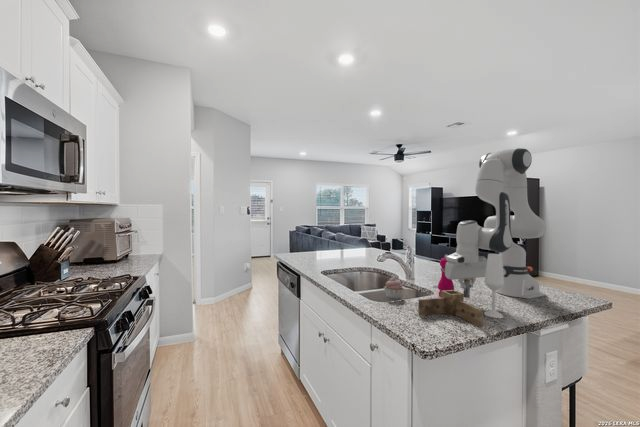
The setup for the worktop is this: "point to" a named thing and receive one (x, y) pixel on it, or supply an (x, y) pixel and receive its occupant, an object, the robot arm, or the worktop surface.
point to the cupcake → (393, 289)
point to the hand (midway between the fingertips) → (466, 287)
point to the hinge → (451, 307)
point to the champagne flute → (494, 280)
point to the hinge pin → (467, 288)
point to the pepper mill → (444, 278)
